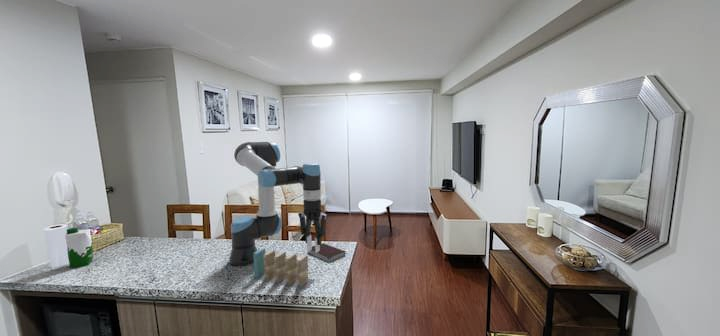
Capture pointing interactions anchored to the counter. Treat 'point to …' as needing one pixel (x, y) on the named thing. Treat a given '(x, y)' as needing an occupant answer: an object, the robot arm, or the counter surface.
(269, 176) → the robot arm
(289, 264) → the light wood flat block
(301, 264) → the tile
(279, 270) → the beige wooden block
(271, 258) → the light wood flat block
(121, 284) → the counter surface
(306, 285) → the runner mat
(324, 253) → the book
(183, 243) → the counter surface
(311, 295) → the counter surface
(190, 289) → the counter surface
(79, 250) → the milk carton
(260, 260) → the tile
